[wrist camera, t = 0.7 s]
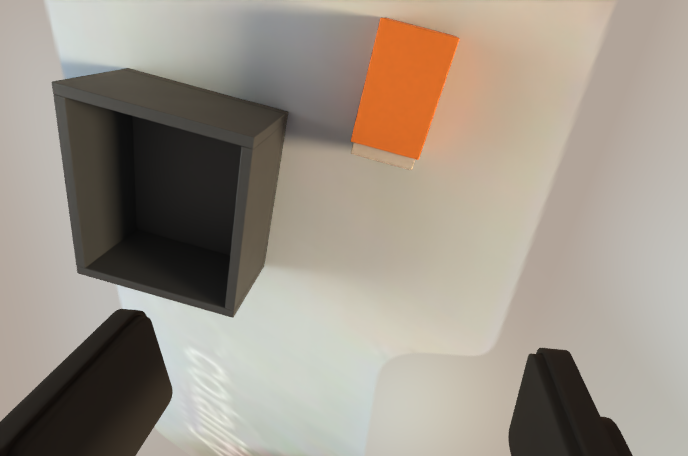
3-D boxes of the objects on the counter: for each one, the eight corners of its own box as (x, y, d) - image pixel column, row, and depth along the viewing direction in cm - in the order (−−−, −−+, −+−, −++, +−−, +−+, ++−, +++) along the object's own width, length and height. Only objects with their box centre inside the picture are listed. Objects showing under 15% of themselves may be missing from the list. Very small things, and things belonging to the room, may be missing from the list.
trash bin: (127, 67, 32) (51, 81, 25) (288, 111, 32) (254, 137, 25) (134, 229, 40) (77, 273, 33) (264, 266, 39) (233, 318, 33)
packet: (384, 17, 28) (380, 17, 24) (454, 35, 28) (460, 38, 24) (354, 139, 32) (347, 154, 29) (413, 156, 32) (414, 173, 28)
